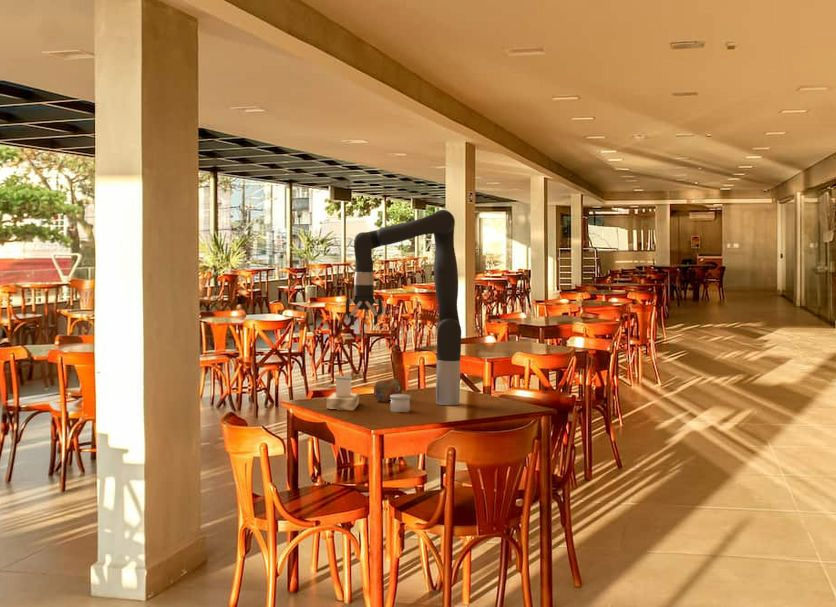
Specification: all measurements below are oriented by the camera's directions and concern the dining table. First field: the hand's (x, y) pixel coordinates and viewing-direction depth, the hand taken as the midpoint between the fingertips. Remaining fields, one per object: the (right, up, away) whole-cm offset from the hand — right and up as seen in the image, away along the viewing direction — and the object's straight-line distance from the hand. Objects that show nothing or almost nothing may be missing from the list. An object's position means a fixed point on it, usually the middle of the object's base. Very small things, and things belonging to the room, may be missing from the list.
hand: (364, 325), depth 365 cm
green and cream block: (-7, -26, -13) cm, 30 cm away
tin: (+9, -30, +6) cm, 32 cm away
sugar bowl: (+14, -31, -20) cm, 40 cm away
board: (-7, -30, -12) cm, 34 cm away
